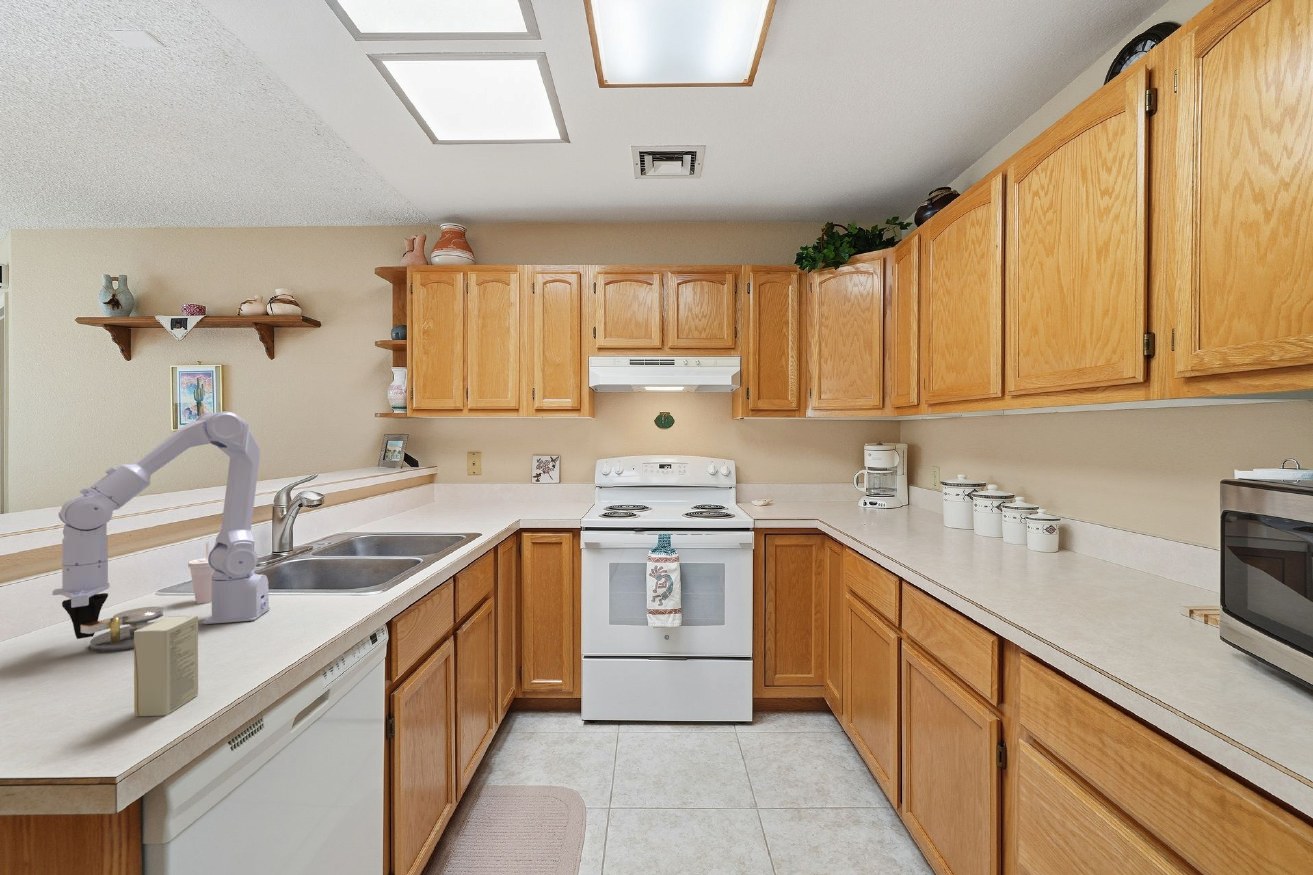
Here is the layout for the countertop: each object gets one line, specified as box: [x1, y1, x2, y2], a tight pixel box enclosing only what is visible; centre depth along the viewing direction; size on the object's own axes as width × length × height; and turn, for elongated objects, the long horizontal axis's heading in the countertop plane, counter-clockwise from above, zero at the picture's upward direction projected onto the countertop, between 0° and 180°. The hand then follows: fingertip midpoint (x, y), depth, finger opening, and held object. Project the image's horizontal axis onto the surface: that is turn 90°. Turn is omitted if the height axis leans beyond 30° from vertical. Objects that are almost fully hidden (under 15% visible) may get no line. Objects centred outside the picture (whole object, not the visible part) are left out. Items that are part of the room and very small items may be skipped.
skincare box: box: [133, 615, 199, 717], centre depth 78 cm, size 6×4×12 cm
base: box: [89, 617, 155, 653], centre depth 104 cm, size 13×13×6 cm
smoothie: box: [187, 541, 215, 605], centre depth 128 cm, size 6×6×14 cm
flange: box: [81, 606, 164, 634], centre depth 102 cm, size 12×7×1 cm, turn 164°
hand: (85, 636), depth 99 cm, fingers closed, pressing on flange
